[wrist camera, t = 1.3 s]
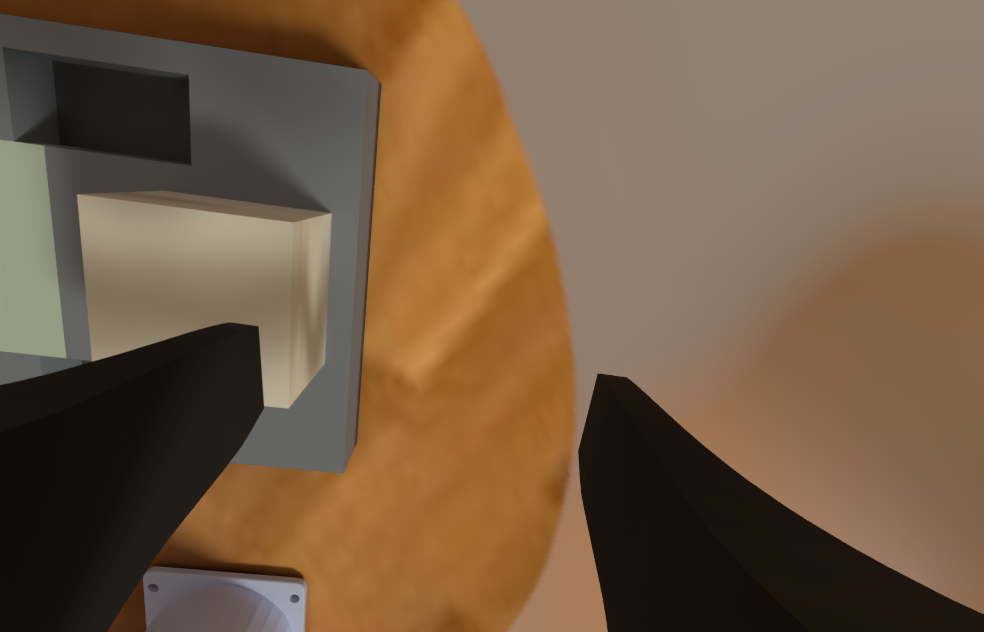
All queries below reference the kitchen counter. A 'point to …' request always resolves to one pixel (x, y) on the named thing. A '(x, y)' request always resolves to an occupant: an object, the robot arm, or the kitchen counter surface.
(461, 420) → the kitchen counter surface
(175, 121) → the board
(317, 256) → the beech block
